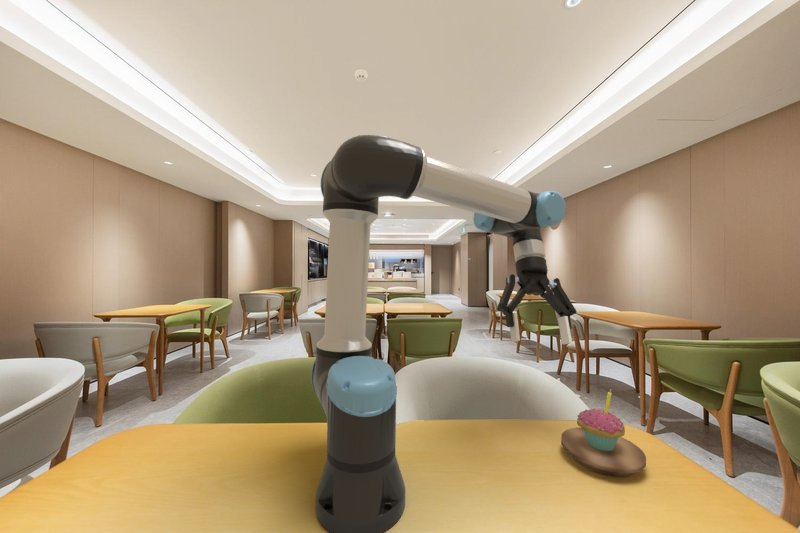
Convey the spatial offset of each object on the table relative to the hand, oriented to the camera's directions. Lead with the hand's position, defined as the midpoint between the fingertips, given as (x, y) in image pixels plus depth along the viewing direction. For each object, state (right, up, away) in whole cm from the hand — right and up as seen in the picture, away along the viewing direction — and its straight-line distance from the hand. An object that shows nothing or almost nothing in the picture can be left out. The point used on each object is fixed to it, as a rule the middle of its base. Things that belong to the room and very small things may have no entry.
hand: (541, 342), depth 76 cm
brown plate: (+8, -23, -9) cm, 26 cm away
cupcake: (+8, -20, -9) cm, 23 cm away
